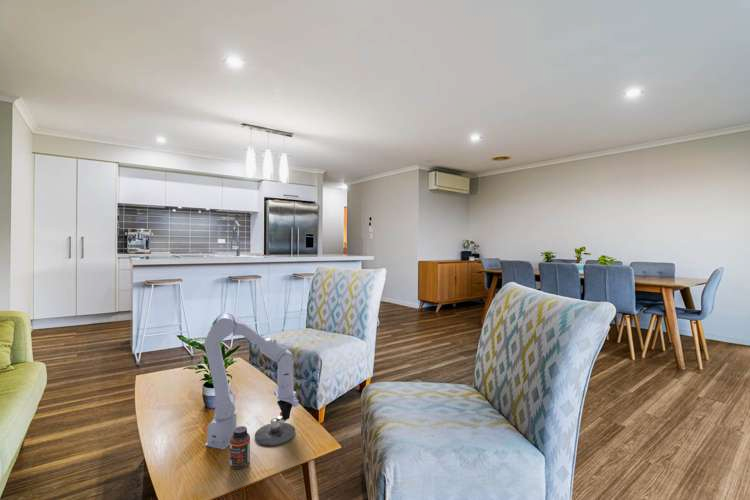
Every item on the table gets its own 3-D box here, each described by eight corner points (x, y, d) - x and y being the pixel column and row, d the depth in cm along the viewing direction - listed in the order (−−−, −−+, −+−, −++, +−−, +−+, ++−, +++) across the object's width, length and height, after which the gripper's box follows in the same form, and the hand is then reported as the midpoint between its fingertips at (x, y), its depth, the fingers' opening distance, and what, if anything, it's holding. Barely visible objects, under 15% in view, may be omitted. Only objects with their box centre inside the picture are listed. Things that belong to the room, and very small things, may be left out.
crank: (276, 434, 127) (276, 421, 127) (268, 433, 128) (268, 420, 128) (288, 422, 135) (288, 410, 135) (281, 421, 136) (281, 409, 136)
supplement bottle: (228, 472, 109) (228, 435, 108) (231, 460, 114) (230, 425, 114) (249, 468, 110) (249, 432, 110) (250, 457, 116) (250, 423, 116)
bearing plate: (281, 449, 120) (281, 446, 120) (246, 442, 125) (246, 438, 125) (302, 428, 134) (302, 425, 134) (269, 422, 138) (269, 419, 138)
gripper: (305, 385, 130) (305, 422, 131) (285, 374, 141) (285, 408, 141) (288, 391, 125) (288, 429, 126) (268, 379, 136) (269, 415, 136)
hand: (286, 419), depth 133 cm, fingers closed, pressing on crank
